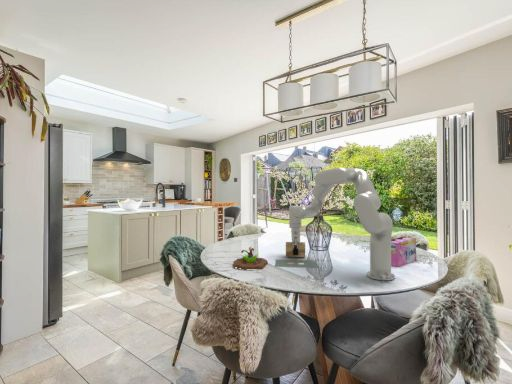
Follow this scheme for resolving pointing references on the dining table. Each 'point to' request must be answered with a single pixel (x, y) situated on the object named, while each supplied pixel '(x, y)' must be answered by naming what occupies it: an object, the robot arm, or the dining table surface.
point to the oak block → (300, 249)
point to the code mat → (296, 263)
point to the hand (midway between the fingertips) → (295, 253)
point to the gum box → (403, 251)
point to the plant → (250, 261)
